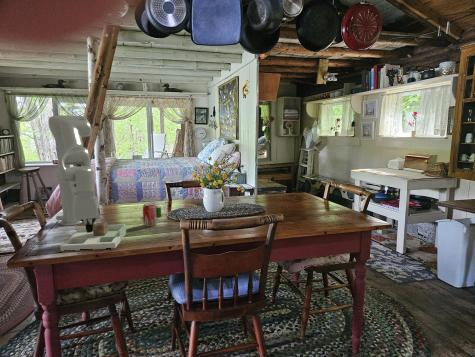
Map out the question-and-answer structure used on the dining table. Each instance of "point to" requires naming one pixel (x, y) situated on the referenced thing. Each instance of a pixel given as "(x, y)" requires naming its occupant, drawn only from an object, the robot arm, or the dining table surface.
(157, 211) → the puzzle toy
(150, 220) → the soda can
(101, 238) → the trap board
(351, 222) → the dining table surface
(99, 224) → the walnut block
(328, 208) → the dining table surface
